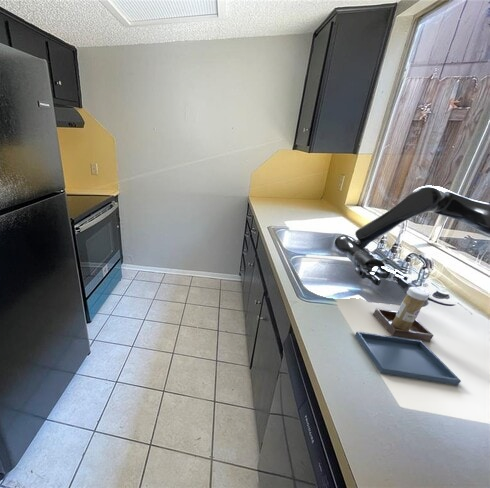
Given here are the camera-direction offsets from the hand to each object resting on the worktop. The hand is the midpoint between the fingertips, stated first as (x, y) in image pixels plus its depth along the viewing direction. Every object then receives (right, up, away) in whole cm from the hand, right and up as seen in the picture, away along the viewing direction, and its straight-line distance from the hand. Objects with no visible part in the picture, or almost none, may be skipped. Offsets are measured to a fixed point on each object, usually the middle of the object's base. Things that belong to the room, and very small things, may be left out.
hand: (393, 285), depth 86 cm
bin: (-2, -13, -4) cm, 14 cm away
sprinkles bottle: (-2, -12, -5) cm, 13 cm away
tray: (-12, -18, -16) cm, 27 cm away
